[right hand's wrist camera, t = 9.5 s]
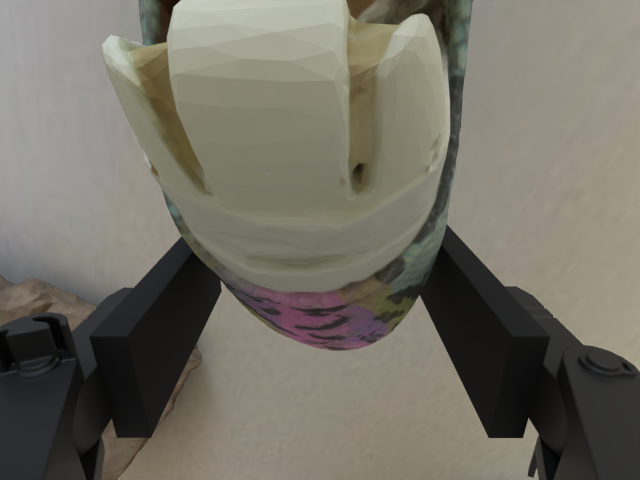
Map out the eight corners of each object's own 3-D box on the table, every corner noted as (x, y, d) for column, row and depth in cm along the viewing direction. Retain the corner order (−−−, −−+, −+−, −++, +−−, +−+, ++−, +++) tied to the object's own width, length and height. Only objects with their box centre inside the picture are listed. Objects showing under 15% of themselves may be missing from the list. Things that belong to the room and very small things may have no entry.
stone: (-185, 386, 25) (-299, 458, 20) (-99, 192, 24) (-196, 211, 18) (131, 459, 33) (114, 527, 27) (212, 316, 31) (211, 356, 26)
